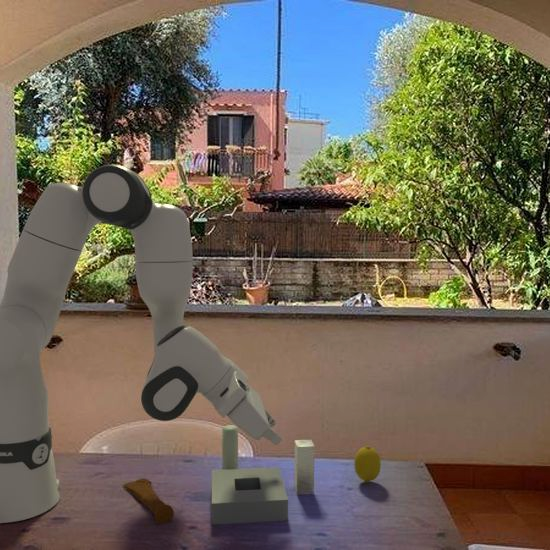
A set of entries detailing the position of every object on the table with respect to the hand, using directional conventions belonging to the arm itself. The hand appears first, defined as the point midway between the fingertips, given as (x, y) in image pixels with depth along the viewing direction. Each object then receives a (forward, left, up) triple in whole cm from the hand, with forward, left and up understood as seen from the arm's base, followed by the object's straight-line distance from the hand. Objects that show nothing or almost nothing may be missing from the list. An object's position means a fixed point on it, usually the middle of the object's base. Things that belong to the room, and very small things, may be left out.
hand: (276, 432), depth 110 cm
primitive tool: (-22, -14, -13) cm, 29 cm away
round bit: (-13, +4, -12) cm, 18 cm away
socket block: (-3, -7, -12) cm, 15 cm away
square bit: (+5, +3, -12) cm, 14 cm away
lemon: (+16, +12, -13) cm, 24 cm away
